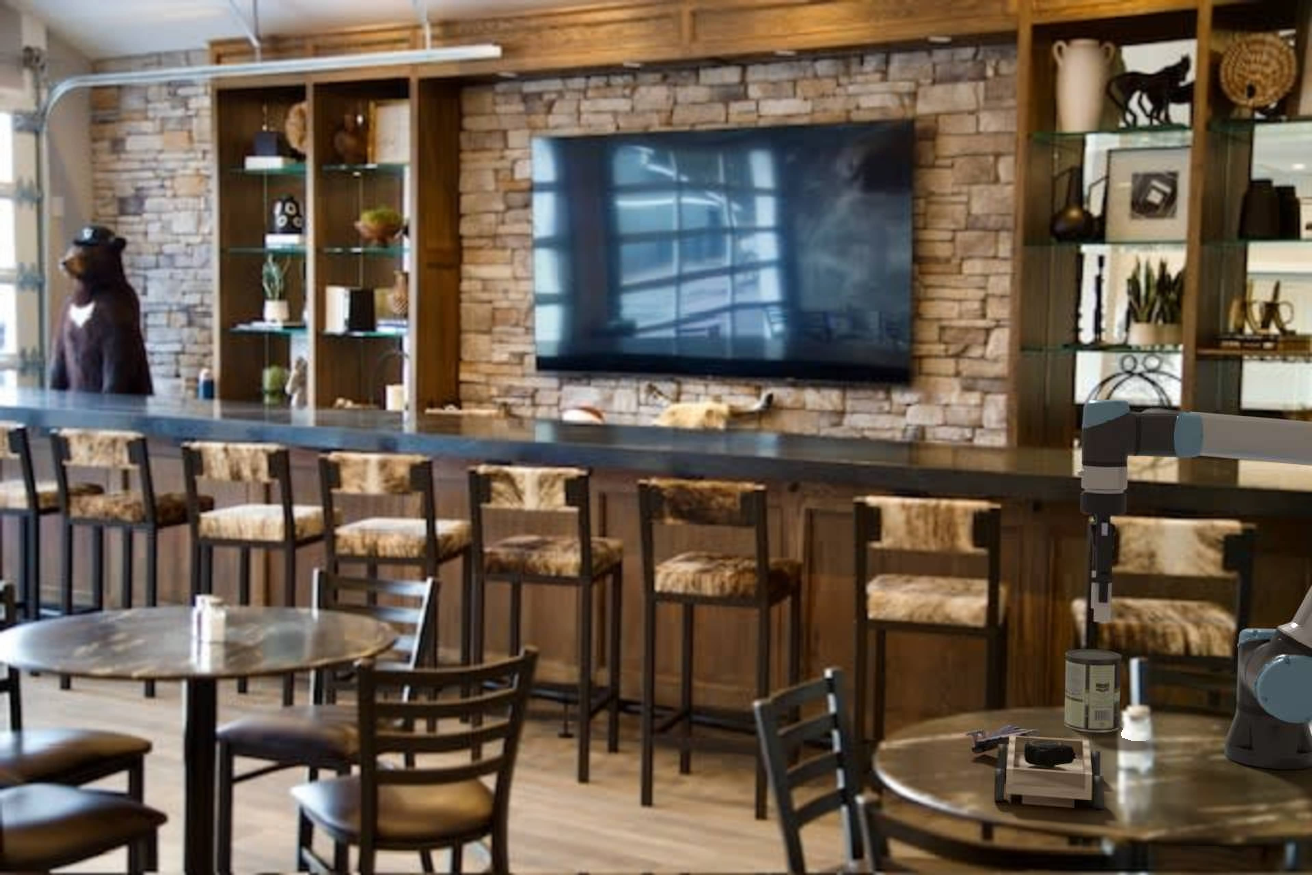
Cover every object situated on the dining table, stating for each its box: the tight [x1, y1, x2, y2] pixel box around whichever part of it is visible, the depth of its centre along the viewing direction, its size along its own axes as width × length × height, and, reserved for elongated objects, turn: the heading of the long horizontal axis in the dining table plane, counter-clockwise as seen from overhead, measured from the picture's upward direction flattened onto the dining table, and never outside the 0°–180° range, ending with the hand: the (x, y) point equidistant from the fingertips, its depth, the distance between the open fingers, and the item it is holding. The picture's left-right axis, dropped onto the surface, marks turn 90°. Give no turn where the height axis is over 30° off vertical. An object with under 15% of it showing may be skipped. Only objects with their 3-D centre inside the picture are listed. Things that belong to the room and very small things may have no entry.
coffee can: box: [1064, 648, 1123, 733], centre depth 307 cm, size 10×10×14 cm
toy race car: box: [965, 724, 1040, 755], centre depth 282 cm, size 13×6×4 cm, turn 42°
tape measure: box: [1024, 740, 1076, 768], centre depth 265 cm, size 7×7×4 cm
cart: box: [993, 735, 1105, 810], centre depth 264 cm, size 22×17×6 cm
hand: (1100, 614), depth 276 cm, fingers open, 13 cm apart
